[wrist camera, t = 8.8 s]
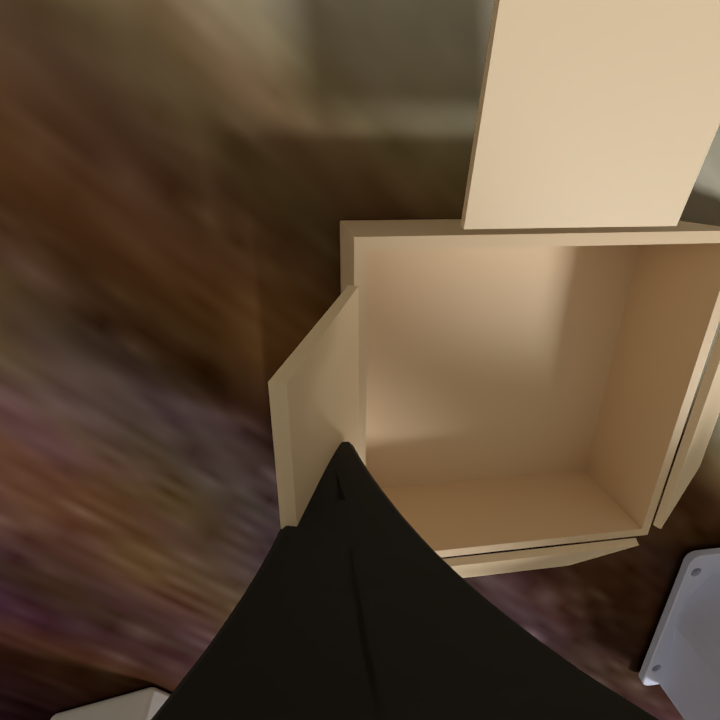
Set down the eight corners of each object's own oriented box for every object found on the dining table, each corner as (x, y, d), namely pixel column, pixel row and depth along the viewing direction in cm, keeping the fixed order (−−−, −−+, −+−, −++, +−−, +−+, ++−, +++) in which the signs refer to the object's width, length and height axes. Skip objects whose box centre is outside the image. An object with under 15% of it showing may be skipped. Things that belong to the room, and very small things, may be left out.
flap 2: (676, 226, 10) (799, -63, 8) (463, 229, 10) (513, -86, 7) (669, 222, 11) (786, -61, 8) (460, 225, 10) (506, -82, 7)
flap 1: (358, 553, 13) (313, 757, 9) (350, 552, 13) (301, 754, 9) (358, 285, 10) (286, 383, 5) (348, 284, 10) (267, 382, 5)
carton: (585, 471, 18) (647, 534, 15) (344, 492, 17) (355, 566, 14) (648, 216, 14) (750, 230, 11) (339, 220, 13) (353, 237, 10)
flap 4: (652, 525, 15) (692, 464, 18) (661, 529, 15) (700, 466, 18) (747, 246, 11) (777, 229, 14) (759, 247, 11) (786, 230, 14)
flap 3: (635, 537, 15) (566, 559, 19) (367, 567, 14) (356, 583, 18) (638, 545, 15) (568, 565, 19) (368, 575, 14) (357, 590, 18)
